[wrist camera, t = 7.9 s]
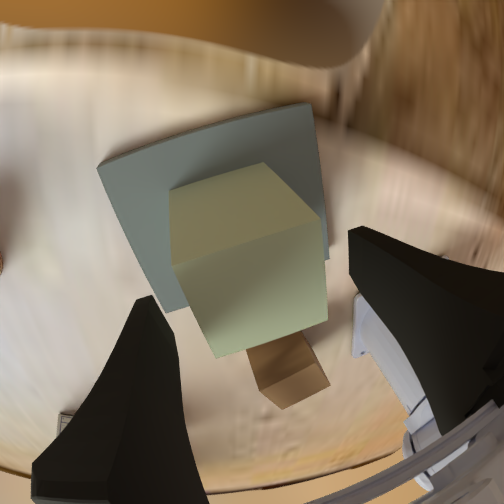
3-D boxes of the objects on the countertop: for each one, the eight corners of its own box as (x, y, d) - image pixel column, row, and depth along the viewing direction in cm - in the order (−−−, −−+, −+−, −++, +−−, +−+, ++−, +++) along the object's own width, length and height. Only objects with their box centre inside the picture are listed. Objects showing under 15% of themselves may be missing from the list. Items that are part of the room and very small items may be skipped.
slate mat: (304, 102, 13) (311, 103, 13) (323, 251, 19) (329, 258, 18) (99, 163, 13) (96, 168, 12) (165, 304, 18) (165, 313, 17)
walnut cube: (293, 319, 21) (315, 362, 18) (310, 346, 24) (330, 385, 20) (244, 346, 22) (259, 391, 18) (267, 369, 24) (282, 409, 21)
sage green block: (263, 162, 14) (320, 218, 9) (279, 241, 16) (328, 320, 12) (168, 191, 13) (171, 266, 9) (197, 268, 16) (215, 358, 11)
